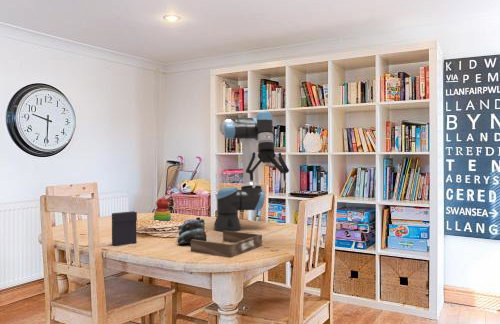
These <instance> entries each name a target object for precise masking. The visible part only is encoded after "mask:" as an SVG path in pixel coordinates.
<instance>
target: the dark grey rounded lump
mask: <svg viewBox="0 0 500 324" xmlns="http://www.w3.org/2000/svg"><path fill="white" fill-rule="evenodd" d="M205 224H206V223H205V219H203V218H202V219H201V217H200V216H198V217H196V218H189V219H187V220H185V221H184V222H183V224H179V225H178V226H177V228H178V232H177V233H178V237H177V239H176V240H177V244H178V245H179V246H182V245H185V244H191V240H192V239H193V240H201V241H208V240H207V237H208V236H207V233H206V231H205V230H206V229H205Z"/></svg>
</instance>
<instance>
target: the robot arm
mask: <svg viewBox="0 0 500 324" xmlns="http://www.w3.org/2000/svg"><path fill="white" fill-rule="evenodd" d="M273 123H274V122H273V114H272V113H271V112H270V111H266V110H264V111H259V112H257V113H256V117H229V118H226V119H223V120H222V121H221V122H220V124H219V131H220V133H221V134H222V135H223V136H224V138H225V139H228V140H229V139H231V140H232V139H238V140H239V142H240V143H241V145H242V147H241V148H242V166H243V167H242V168H243V169H242V173H243V174H242V175H243V177H242V178H243V184H242V185H241V187H240V189H239V188H238V187H237V186H236V187H235V186H233V187H232V186H231V187H225V188H221V189H219V190H217V192H216V193H217V196H216V200H217V201H216V202H217V204H216V207H217V209H216V213H217V214H216V218H215V222H214V224H213V230H214V231H218V232H223V231H233V232H239V231H240V230H241V229H242V224H241V222H240V218H239V211H259V210H262V209H263V208H264V203H265V198H266V197H265V195H266V193H265V191H266V190H265V189H263V188H262V185H261V184H260V182H259V165H260V164H261V163H263V164H270V163H271V164H272V165H273V166H274V167H275V168H276V169H277V170H278V171H279V172H280V175H279V176H280V188H281V189H284V188H285V181H286V178H287V177H286V174H288V173H289V172H290V169H289V168H288V166H287V164H286V162H285V161H284V159H283V156H282V152H278V153H275V144H274V128H273V127H274V126H273ZM276 159H277V160H276ZM278 161H279V162H278Z"/></svg>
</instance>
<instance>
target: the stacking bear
mask: <svg viewBox="0 0 500 324" xmlns="http://www.w3.org/2000/svg"><path fill="white" fill-rule="evenodd" d="M170 204H171V203H170V201H168V199H167V198H165V197H160V198H158V199H157V200H156V209H155V210H154V214H153V221H154V220H159V221H170V220H171V219H172V217H171V216H172V215H171V211H170V209H169V207H170ZM170 222H171V221H170Z"/></svg>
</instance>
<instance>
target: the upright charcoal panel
mask: <svg viewBox="0 0 500 324" xmlns="http://www.w3.org/2000/svg"><path fill="white" fill-rule="evenodd" d="M137 221H138V212H137V211H121V212H112V213H111V245H112V246H113V247H117V246H124V245H132V244H137Z"/></svg>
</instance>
